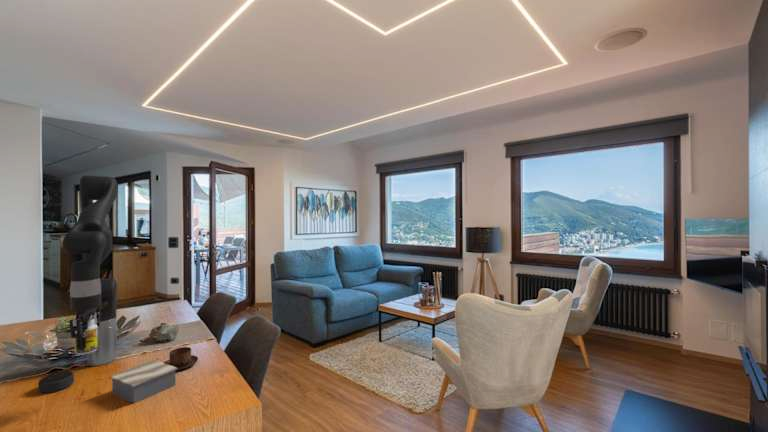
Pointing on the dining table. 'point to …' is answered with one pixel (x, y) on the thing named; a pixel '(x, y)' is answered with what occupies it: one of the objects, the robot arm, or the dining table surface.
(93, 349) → the supplement bottle
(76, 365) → the dining table surface
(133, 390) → the plinth
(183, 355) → the cup and saucer
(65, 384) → the smart speaker
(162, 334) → the ceramic sculpture
